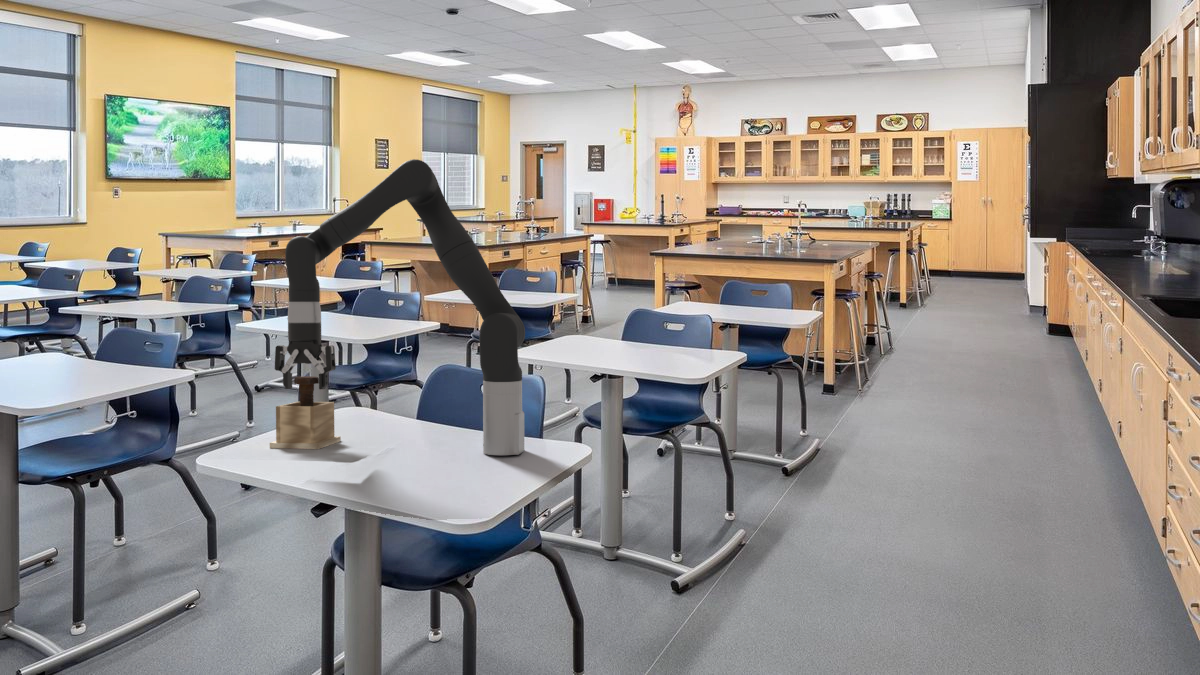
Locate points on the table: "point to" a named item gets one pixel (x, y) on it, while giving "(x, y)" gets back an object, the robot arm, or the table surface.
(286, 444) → the socket block
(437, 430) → the table surface
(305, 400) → the bolt
